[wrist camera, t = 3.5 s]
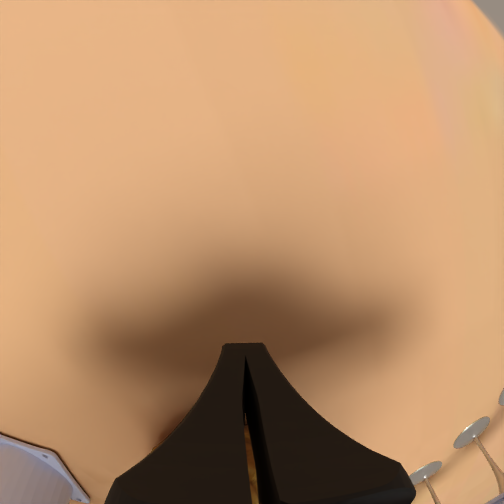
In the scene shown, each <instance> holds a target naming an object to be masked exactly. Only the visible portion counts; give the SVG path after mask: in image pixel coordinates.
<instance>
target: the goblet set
mask: <svg viewBox="0 0 504 504" xmlns="http://www.w3.org/2000/svg"><path fill="white" fill-rule="evenodd" d="M499 404H500V405H504V389H503V391H502V392H501V395H500V397H499ZM489 421H490V418H489V417H482V418H480V419H478V420H477V421H475V422H473V423H472V424H471V425H469V426H468V427H467V428H466V429H465V430H464V431H463V432H462V433H461V434H460V435H459V436H458V437H457V439H456V440H455V442H454V444H453V447H454V448H456V449H458V448H462V447H464V446H466V445H468V444H470V443H471V442H473V441H475V442H476V443H477V445H478V446H479V448H480V449H481V451H482V452H483V454H484V456H485V457H486V459H487V461H488V462H489V464H490V466H491V468H492V470H493V472H494V474H495V476H496V479H497V482H498V487H499V495H500V494H502V493H503V492H504V473H503V472H502V471H501V470H500V468H499V467H498V466H497V465H496V463H495V462H494V461H493V459H492V458H491V457H490V455H489V454H488V452H487V451H486V450H485V448H484V447H483V445H482V444H481V442H480V441H479V439H478V437H479V436H480V435H481V434H482V433H483V431H484V430H485V429H486V428H487V426H488V424H489ZM441 466H442V462H441V461H435V462H432V463H429V464H427V465H425V466H423V467H421V468H420V469H418V470H416V471H415V472H414V473H412V474H411V475H410V476H409V477H410V479H411V481H412V483H413V485H416V484H419V483H421V482H423V481H425V483H426V485H427V487H428V489H429V491H430V493H431V495H432V498H433V500H434V502H435V504H441V503H440V501H439V499H438V498H437V496H436V494H435V492H434V490H433V488H432V486H431V484H430V482H429V480H428V478H430V477H431V476H433V475H434V474H435V473H436V472H437V471H438V470H439V469H440V468H441Z"/></svg>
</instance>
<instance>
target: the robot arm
mask: <svg viewBox="0 0 504 504" xmlns="http://www.w3.org/2000/svg"><path fill="white" fill-rule="evenodd" d="M245 413H246V419H247V425H248V430H249V435H250V441H251V446H252V451H253V457H254V462H255V469H256V478H257V490H258V502H259V504H411V503H412V501H413V500H414V498H415V496H416V490H415V488H414V485H413V483H412V481H411V479H410V477H409V476H408V474H407V472H406V471H405V470H404V468H403V467H402V465H401V463H399V462H397V461H395V460H392V459H390V458H388V457H386V456H383V455H381V454H379V453H377V452H374V451H372V450H370V449H368V448H367V447H365V446H363V445H361V444H360V443H358V442H356V441H354V440H353V439H351V438H350V437H348V436H347V435H346V434H344V433H343V432H341V431H340V430H338V429H337V428H335V427H334V426H333V425H331V424H330V423H329V422H328V421H326V420H325V419H324V418H323V417H322V416H320V415H319V414H318V413H317V412H316V411H315V410H314V409H313V408H312V407H311V406H310V405H309V404H308V403H307V402H306V401H305V400H304V399H303V398H302V397H301V396H300V395H299V394H298V393H297V391H296V390H295V389H294V388H293V387H292V386H291V384H290V383H289V382H288V381H287V379H286V378H285V377H284V375H283V374H282V373H281V371H280V370H279V368H278V367H277V365H276V364H275V362H274V361H273V359H272V358H271V356H270V354H269V353H268V351H267V349H266V347H265V345H264V344H263V343H226V344H225V345H223V346H222V351H221V355H220V358H219V360H218V363H217V365H216V368H215V370H214V372H213V374H212V376H211V378H210V380H209V382H208V384H207V386H206V387H205V389H204V390H203V392H202V394H201V395H200V397H199V399H198V400H197V402H196V403H195V405H194V406H193V408H192V409H191V410H190V412H189V413H188V414H187V416H186V417H185V418H184V419H183V421H182V422H181V423H180V424H179V425H178V426H177V428H176V429H175V430H174V431H173V432H172V433H171V434H170V435H169V436H168V437H167V438H166V439H165V440H164V441H163V442H162V443H161V444H160V445H159V446H158V447H157V448H156V449H154V450H153V451H152V452H151V453H150V454H149V455H148V456H147V457H145V458H144V459H143V460H142V461H140V462H139V463H138V464H136V465H135V466H133V467H132V468H131V469H129V470H128V471H126V472H125V473H123V474H122V475H121V476H119V477H117V478H116V479H115V481H114V482H113V484H112V487H111V489H110V491H109V493H108V496H107V498H106V501H105V504H252V497H251V489H250V481H249V472H248V463H247V454H246V444H245V433H244V425H245ZM70 499H72V500H76V501H80V502H83V503H90V499H89V497H88V496H87V495H86V494H85V492H84V491H83V490H82V489H81V487H80V486H79V485H78V484H77V482H76V481H75V480H74V478H73V477H72V476H71V474H70V473H69V471H68V470H67V469H66V467H65V466H64V464H63V463H62V462H61V460H60V459H59V457H58V456H57V455H56V454H55V453H54V452H52V451H49V450H46V449H42V448H39V447H36V446H32V445H29V444H26V443H23V442H20V441H17V440H14V439H12V438H9V437H6V436H3V435H1V434H0V504H69V502H70ZM485 504H504V492H503V493H502V494H500V495H498V496H497V497H495V498H494V499H492V500H490V501H489V502H487V503H485Z"/></svg>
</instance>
